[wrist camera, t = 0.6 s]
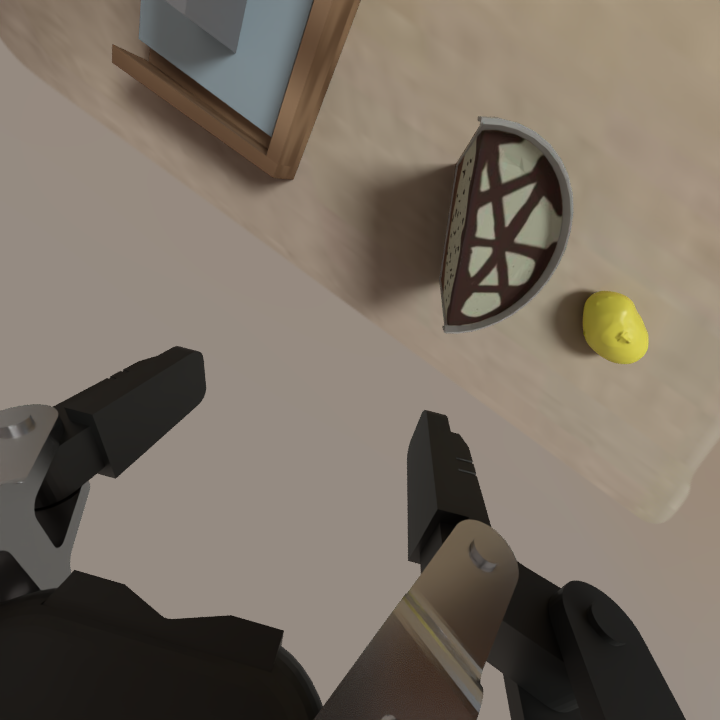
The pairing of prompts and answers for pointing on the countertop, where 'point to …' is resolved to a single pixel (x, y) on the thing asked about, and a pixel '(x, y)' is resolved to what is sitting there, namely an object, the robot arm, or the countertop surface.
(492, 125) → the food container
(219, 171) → the countertop surface
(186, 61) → the cover plate
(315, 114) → the open-fronted box
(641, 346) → the lemon
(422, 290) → the countertop surface
